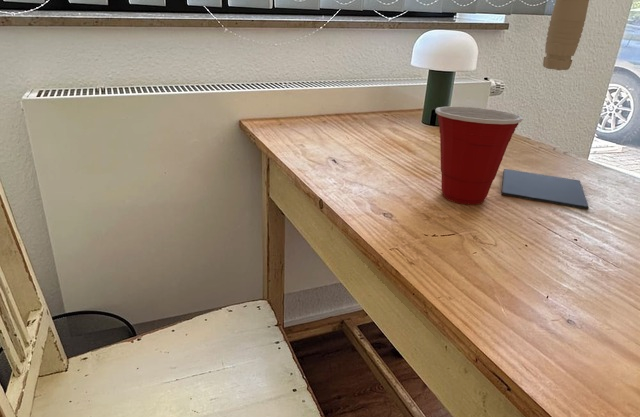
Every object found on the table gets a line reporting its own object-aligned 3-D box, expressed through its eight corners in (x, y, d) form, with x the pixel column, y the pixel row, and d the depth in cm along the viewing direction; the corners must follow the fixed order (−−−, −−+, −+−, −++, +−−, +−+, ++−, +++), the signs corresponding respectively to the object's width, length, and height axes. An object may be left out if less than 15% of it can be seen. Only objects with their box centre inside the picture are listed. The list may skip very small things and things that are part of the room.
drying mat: (579, 182, 75) (579, 180, 75) (587, 209, 65) (588, 206, 65) (503, 170, 78) (504, 168, 78) (501, 194, 69) (502, 192, 69)
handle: (588, 73, 61) (625, -63, 55) (535, 70, 62) (566, -66, 56) (574, 67, 66) (607, -60, 59) (525, 64, 66) (553, -62, 60)
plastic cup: (496, 185, 72) (513, 104, 67) (511, 216, 62) (533, 123, 57) (421, 178, 73) (433, 98, 68) (425, 207, 63) (439, 115, 58)
